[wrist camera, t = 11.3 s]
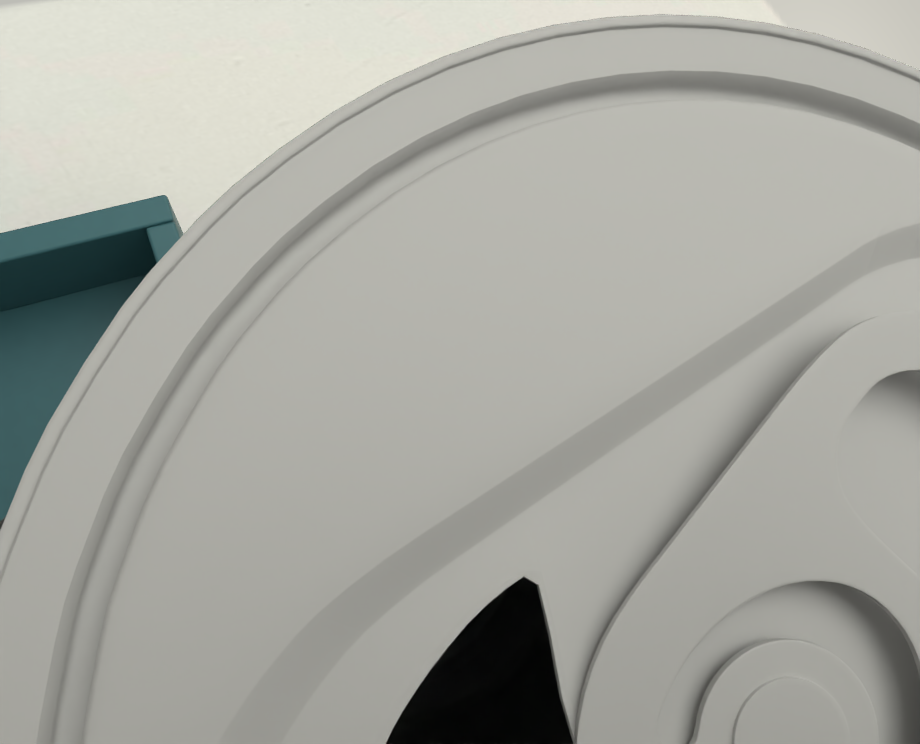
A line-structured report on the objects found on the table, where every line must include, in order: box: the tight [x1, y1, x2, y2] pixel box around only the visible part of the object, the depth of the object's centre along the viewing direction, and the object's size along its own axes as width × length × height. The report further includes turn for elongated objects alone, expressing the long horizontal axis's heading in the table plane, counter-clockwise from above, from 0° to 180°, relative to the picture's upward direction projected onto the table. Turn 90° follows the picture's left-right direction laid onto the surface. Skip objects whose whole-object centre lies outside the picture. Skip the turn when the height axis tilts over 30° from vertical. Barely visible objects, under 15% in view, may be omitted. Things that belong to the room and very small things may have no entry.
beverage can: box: [0, 14, 920, 744], centre depth 8 cm, size 6×6×12 cm
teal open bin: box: [0, 195, 183, 521], centre depth 15 cm, size 10×10×4 cm
